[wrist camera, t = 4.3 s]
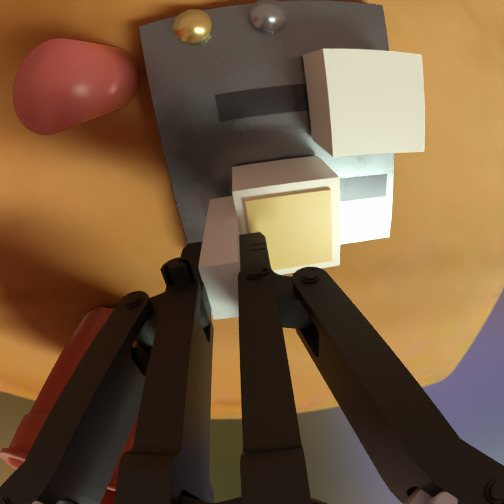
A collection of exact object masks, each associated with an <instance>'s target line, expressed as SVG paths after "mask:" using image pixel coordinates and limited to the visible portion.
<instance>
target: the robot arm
mask: <svg viewBox="0 0 504 504" xmlns="http://www.w3.org/2000/svg"><path fill="white" fill-rule="evenodd" d="M160 270H161V272H162V275H163V278H164V280H165V283H166V286H167V287H166V291H165V292H164V293H162V294H159V295H157V296H154V297H151V298H149V296H148V294H146V293H145V292H142V291H135V292H132V293H129V294H127V295H126V296H124V297H123V298H122V299H121V300H120V302H119V303H118V305H117V306H116V307H115V309H114V310H113V312H112V313H111V315H110V316H109V318H108V319H107V321H106V322H105V324H104V325H103V327H102V328H101V330H100V331H99V333H98V334H97V336H96V337H95V339H94V340H93V342H92V343H91V345H90V347H89V348H88V350H87V351H86V353H85V354H84V356H83V358H82V359H81V361H80V362H79V364H78V366H77V367H76V369H75V371H74V372H73V374H72V375H71V377H70V379H69V380H68V382H67V384H66V385H65V387H64V389H63V391H62V392H61V394H60V396H59V397H58V399H57V401H56V403H55V404H54V406H53V408H52V410H51V412H50V413H49V415H48V417H47V419H46V421H45V422H44V424H43V426H42V428H41V430H40V432H39V434H38V436H37V437H36V439H35V441H34V443H33V445H32V447H31V449H30V451H29V453H28V455H27V457H26V459H25V461H24V462H23V464H22V465H21V466H20V467H19V468H18V469H17V470H16V471H15V472H14V473H13V474H12V475H11V476H10V477H9V478H8V479H7V480H6V481H5V482H4V483H3V485H2V486H1V487H0V504H100V503H101V500H102V498H103V496H104V494H105V492H106V489H107V487H108V484H109V482H110V480H111V477H112V475H113V472H114V470H115V467H116V465H117V463H118V460H119V458H120V455H121V453H122V451H123V448H124V446H125V444H126V441H127V439H128V437H129V434H130V432H131V430H132V427H133V425H134V423H135V420H136V418H137V416H138V420H137V426H136V432H135V438H134V444H133V448H132V449H131V451H128V452H126V453H124V454H123V456H122V457H121V459H120V463H119V468H118V475H117V482H116V490H115V498H114V504H327V503H325V502H322V501H320V500H317V499H314V498H311V497H310V490H309V484H308V477H307V470H306V464H305V457H304V452H303V448H302V445H301V439H300V433H299V426H298V420H297V413H296V407H295V401H294V395H293V389H292V383H291V376H290V370H289V364H288V358H287V353H286V347H285V341H284V335H283V329H282V327H285V328H295V329H296V332H297V334H298V335H299V337H300V339H301V341H302V342H303V344H304V346H305V347H306V349H307V351H308V353H309V354H310V356H311V358H312V359H313V361H314V363H315V365H316V366H317V368H318V370H319V371H320V373H321V375H322V377H323V378H324V380H325V382H326V383H327V385H328V387H329V389H330V390H331V392H332V394H333V395H334V397H335V399H336V401H337V402H338V404H339V406H340V407H341V409H342V410H343V413H344V414H345V416H346V418H347V419H348V421H349V423H350V425H351V426H352V428H353V430H354V431H355V433H356V435H357V436H358V438H359V440H360V442H361V443H362V445H363V447H364V448H365V450H366V452H367V454H368V455H369V457H370V459H371V460H372V462H373V464H374V466H375V467H376V469H377V471H378V472H379V474H380V476H381V477H382V479H383V481H384V482H385V484H386V485H387V486H388V488H389V489H390V491H391V492H392V493H393V494H394V495H395V496H396V497H397V498H398V499H399V500H400V501H401V502H402V503H403V504H504V466H503V465H502V464H500V463H498V462H497V461H495V460H493V459H492V458H490V457H488V456H486V455H485V454H483V453H482V452H480V451H479V450H477V449H476V448H474V447H472V446H471V445H469V444H468V443H466V442H465V441H463V440H462V439H460V438H459V437H458V435H457V434H456V432H455V431H454V430H453V428H452V427H451V426H450V424H449V423H448V422H447V420H446V419H445V418H444V416H443V415H442V414H441V412H440V411H439V410H438V408H437V407H436V406H435V404H434V403H433V402H432V400H431V399H430V398H429V397H428V395H427V394H426V393H425V392H424V390H423V389H422V387H421V386H420V385H419V383H418V382H417V381H416V380H415V378H414V377H413V376H412V375H411V373H410V372H409V371H408V370H407V368H406V367H405V366H404V364H403V363H402V362H401V361H400V359H399V358H398V357H397V356H396V354H395V353H394V352H393V351H392V350H391V348H390V347H389V346H388V345H387V343H386V342H385V341H384V340H383V338H382V337H381V336H380V335H379V334H378V332H377V331H376V330H375V329H374V328H373V326H372V325H371V324H370V323H369V322H368V320H367V319H366V318H365V317H364V316H363V314H362V313H361V312H360V311H359V310H358V308H357V307H356V306H355V305H354V304H353V303H352V301H351V300H350V299H349V298H348V297H347V295H346V294H345V293H344V292H343V291H342V290H341V288H340V287H339V286H338V285H337V284H336V283H335V282H334V280H333V279H332V278H331V277H330V276H329V275H328V273H327V272H326V271H324V270H323V269H321V268H318V267H304V268H301V269H299V270H297V271H296V272H295V273H294V274H293V277H289V276H282V275H279V274H277V273H275V272H274V271H273V270H272V268H271V265H270V260H269V254H268V249H267V244H266V238H265V236H264V235H263V234H262V233H261V232H255V233H249V234H242V235H240V231H239V226H238V220H237V216H236V210H235V205H234V199H233V196H228V197H222V198H215V199H210V202H209V207H208V213H207V219H206V224H205V230H204V236H203V241H201V242H195V243H188V244H187V245H186V246H185V248H184V249H183V250H182V254H181V257H179V258H175V259H172V260H170V261H168V262H166V263H165V264H164V265H163V266H162V268H161V269H160ZM211 312H212V315H213V318H214V320H216V319H225V318H233V317H239V345H240V375H241V403H242V425H243V426H242V427H243V452H242V454H241V459H240V473H241V495H242V497H239V498H235V499H231V500H227V501H223V502H219V503H214V493H213V488H212V485H211V482H210V475H209V465H210V463H209V462H210V407H211V376H212V351H213V330H214V329H213V324H212V321H211ZM135 340H136V344H135V345H134V346H132V345H133V343H134V342H135Z"/></svg>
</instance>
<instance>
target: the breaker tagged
mask: <svg viewBox="0 0 504 504" xmlns="http://www.w3.org/2000/svg"><path fill="white" fill-rule="evenodd" d="M232 194H233V199H234V205H235V210H236V216H237V220H238V226H239V231H240V235H242V234H249V233H255V232H261V233H262V234H263V235H264V236H265V238H266V244H267V249H268V254H269V260H270V265H271V268H272V270H273V271H274V272H275V273H277V274H279V275H282V274H288V273H295V272H296V271H297V270H299V269H301V268H304V267H318V268H326V267H332V266H338V265H340V177H339V176H338V175H337V174H336V173H335V172H334V171H333V170H332V169H331V168H330V167H329V166H328V165H327V164H326V163H325V162H324V161H323V160H322V159H321V158H320V157H319V156H310V157H301V158H293V159H284V160H277V161H269V162H262V163H255V164H248V165H242V166H236V167H232Z"/></svg>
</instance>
